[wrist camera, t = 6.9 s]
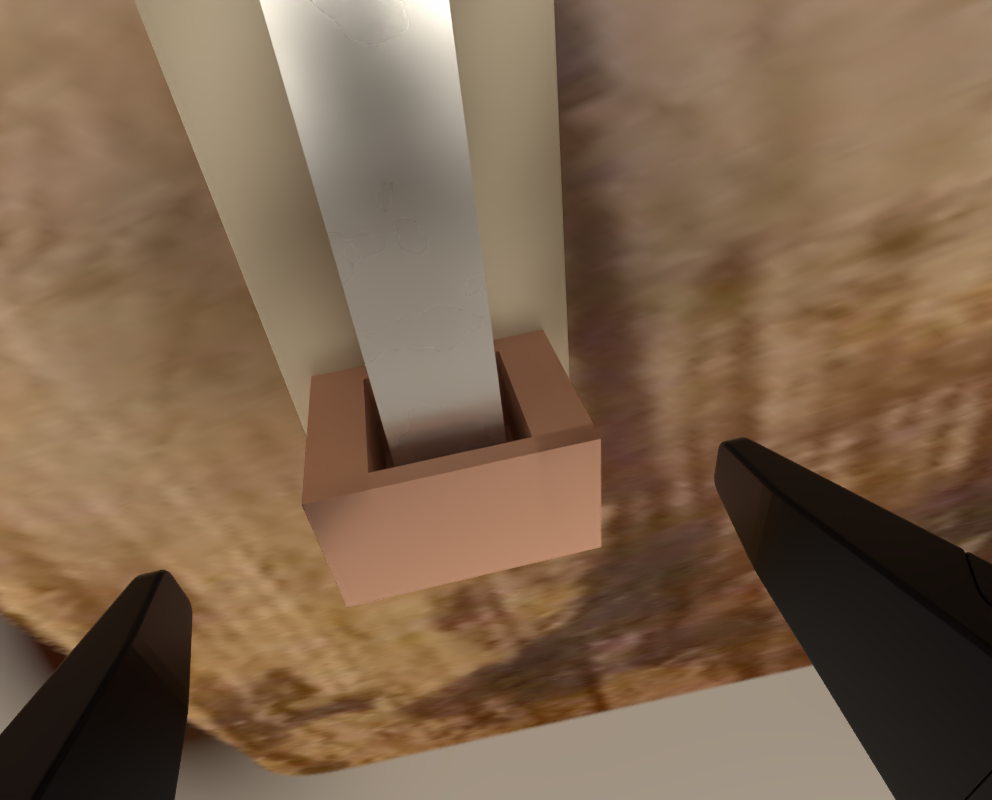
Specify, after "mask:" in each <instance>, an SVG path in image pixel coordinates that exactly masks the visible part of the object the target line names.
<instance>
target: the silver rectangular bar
mask: <svg viewBox="0 0 992 800" xmlns="http://www.w3.org/2000/svg"><path fill="white" fill-rule="evenodd" d="M260 3H261V6H262V10H263V13H264V17H265V20H266V24H267V27H268V31H269V34H270V38H271V41H272V44H273V48H274V51H275V55H276V58H277V62H278V65H279V69H280V72H281V76H282V79H283V82H284V86H285V89H286V93H287V96H288V100H289V103H290V107H291V110H292V114H293V117H294V120H295V124H296V127H297V131H298V134H299V138H300V141H301V145H302V148H303V152H304V155H305V158H306V162H307V165H308V169H309V172H310V176H311V179H312V183H313V186H314V190H315V193H316V196H317V200H318V203H319V207H320V210H321V214H322V217H323V221H324V224H325V228H326V231H327V234H328V238H329V241H330V245H331V248H332V252H333V255H334V259H335V262H336V266H337V269H338V272H339V276H340V279H341V283H342V286H343V290H344V293H345V297H346V300H347V304H348V307H349V310H350V314H351V317H352V321H353V324H354V328H355V331H356V335H357V338H358V342H359V345H360V348H361V352H362V355H363V359H364V362H365V366H366V369H367V373H368V376H369V380H370V383H371V386H372V390H373V393H374V397H375V400H376V404H377V407H378V411H379V414H380V418H381V421H382V424H383V428H384V431H385V435H386V438H387V442H388V445H389V449H390V452H391V456H392V459H393V462H394V466H395V467H397V466H402V465H407V464H411V463H416V462H420V461H425V460H430V459H434V458H439V457H443V456H448V455H452V454H457V453H462V452H466V451H471V450H475V449H480V448H485V447H489V446H494V445H498V444H503V443H506V435H505V427H504V420H503V412H502V404H501V397H500V389H499V381H498V373H497V366H496V358H495V350H494V343H493V335H492V327H491V320H490V312H489V304H488V297H487V289H486V281H485V273H484V266H483V258H482V250H481V243H480V235H479V227H478V220H477V212H476V204H475V197H474V189H473V181H472V173H471V166H470V158H469V150H468V143H467V135H466V127H465V120H464V112H463V104H462V97H461V89H460V81H459V73H458V66H457V58H456V50H455V43H454V35H453V27H452V20H451V12H450V4H449V0H260Z"/></svg>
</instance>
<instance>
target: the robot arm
mask: <svg viewBox="0 0 992 800" xmlns="http://www.w3.org/2000/svg"><path fill="white" fill-rule="evenodd" d="M714 482H715V486H716V489H717V492H718V494H719V496H720V498H721V500H722V502H723V504H724V507H725V509H726V511H727V513H728V515H729V517H730V519H731V521H732V524H733V526H734V528H735V530H736V532H737V534H738V536H739V538H740V541H741V543H742V545H743V547H744V549H745V551H746V553H747V555H748V557H749V559H750V561H751V563H752V565H753V567H754V569H755V571H756V573H757V574H758V576H759V578H760V579H761V581H762V583H763V584H764V586H765V588H766V589H767V591H768V593H769V594H770V596H771V597H772V599H773V601H774V602H775V604H776V606H777V607H778V609H779V610H780V612H781V614H782V615H783V617H784V619H785V620H786V622H787V623H788V625H789V627H790V628H791V630H792V632H793V633H794V635H795V637H796V638H797V640H798V641H799V643H800V645H801V646H802V648H803V650H804V651H805V653H806V654H807V656H808V658H809V659H810V661H811V663H812V664H813V666H814V667H815V669H816V671H817V672H818V674H819V676H820V677H821V679H822V680H823V682H824V684H825V685H826V687H827V688H828V690H829V692H830V694H831V695H832V697H833V698H834V700H835V701H836V703H837V705H838V706H839V708H840V710H841V711H842V713H843V715H844V716H845V718H846V719H847V721H848V723H849V724H850V726H851V728H852V729H853V731H854V733H855V734H856V736H857V737H858V739H859V741H860V742H861V744H862V746H863V747H864V749H865V750H866V752H867V754H868V755H869V757H870V759H871V760H872V762H873V764H874V765H875V767H876V768H877V770H878V772H879V773H880V775H881V776H882V778H883V780H884V781H885V783H886V784H887V786H888V788H889V790H890V791H891V792H892V794H893V796H894V798H895V799H896V800H992V564H991V563H989V562H987V561H985V560H984V559H982V558H980V557H978V556H976V555H974V554H972V553H970V552H966V553H965V552H964V550H963V549H962V548H960V547H958V546H956V545H954V544H952V543H950V542H948V541H946V540H944V539H942V538H940V537H939V536H937V535H935V534H933V533H931V532H929V531H927V530H925V529H923V528H921V527H919V526H917V525H915V524H913V523H911V522H909V521H908V520H906V519H904V518H902V517H900V516H898V515H896V514H894V513H892V512H890V511H888V510H886V509H884V508H882V507H880V506H878V505H876V504H875V503H873V502H871V501H869V500H867V499H865V498H863V497H861V496H859V495H857V494H855V493H853V492H851V491H849V490H847V489H845V488H844V487H842V486H840V485H838V484H836V483H834V482H832V481H830V480H828V479H826V478H824V477H822V476H820V475H818V474H816V473H814V472H812V471H811V470H809V469H807V468H805V467H803V466H801V465H799V464H797V463H795V462H793V461H791V460H789V459H787V458H785V457H783V456H781V455H780V454H778V453H776V452H774V451H772V450H770V449H768V448H766V447H764V446H762V445H760V444H758V443H756V442H754V441H752V440H750V439H748V438H744V437H741V438H737V439H732V440H728V441H724V442H722V443H721V444H720V446H719V449H718V455H717V461H716V468H715V474H714ZM191 638H192V607H191V603H190V601H189V599H188V597H187V596H186V594H185V593H184V591H183V590H182V589H181V587H180V586H179V584H178V583H177V582H176V580H175V579H174V577H173V576H172V575H171V573H170V572H168V571H166V570H158V571H154V572H150V573H145V574H141V575H139V576H137V577H136V578H134V579H133V580H132V581H131V583H130V584H129V585H128V586H127V587H126V588H125V590H124V591H123V592H122V593H121V594H120V595H119V597H118V598H117V599H116V600H115V601H114V602H113V604H112V605H111V606H110V607H109V608H108V609H107V611H106V612H105V613H104V614H103V615H102V616H101V618H100V619H99V620H98V621H97V622H96V623H95V625H94V626H93V627H92V628H91V629H90V630H89V632H88V633H87V634H86V635H85V636H84V637H83V639H82V640H81V641H80V642H79V643H78V644H77V646H76V647H75V648H74V649H73V650H72V651H71V653H70V654H69V655H68V656H67V657H66V658H65V660H64V661H63V662H62V663H61V664H60V665H59V667H58V668H57V669H56V670H55V671H54V673H53V674H52V675H51V676H50V677H49V678H48V680H47V681H46V682H45V683H44V684H43V685H42V687H41V688H40V689H39V690H38V691H37V692H36V693H35V695H34V696H33V697H32V698H31V699H30V701H29V702H28V703H27V704H26V705H25V706H24V708H23V709H22V710H21V711H20V712H19V713H18V714H17V716H16V717H15V718H14V719H13V720H12V722H11V723H10V724H9V725H8V726H7V727H6V729H5V730H4V731H3V732H2V733H1V734H0V800H175V793H176V787H177V781H178V775H179V768H180V761H181V755H182V749H183V742H184V736H185V730H186V723H187V715H188V705H189V688H190V663H191Z"/></svg>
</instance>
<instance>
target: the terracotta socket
mask: <svg viewBox="0 0 992 800" xmlns="http://www.w3.org/2000/svg"><path fill="white" fill-rule="evenodd" d="M493 343H494V350H495V358H496V366H497V373H498V381H499V389H500V397H501V404H502V412H503V420H504V427H505V435H506V443H503V444H498V445H494V446H489V447H485V448H480V449H475V450H471V451H466V452H462V453H457V454H452V455H448V456H443V457H439V458H434V459H430V460H425V461H420V462H416V463H411V464H407V465H402V466H397V467H395V466H394V462H393V459H392V456H391V452H390V449H389V445H388V442H387V438H386V435H385V431H384V428H383V424H382V421H381V418H380V414H379V411H378V407H377V404H376V400H375V397H374V393H373V390H372V386H371V383H370V380H369V376H368V373H367V369H366V366H361V367H356V368H351V369H346V370H341V371H336V372H332V373H327V374H322V375H317V376H312V377H311V385H310V398H309V412H308V425H307V439H306V452H305V466H304V480H303V493H302V507H303V509H304V511H305V513H306V516H307V518H308V520H309V522H310V525H311V527H312V529H313V532H314V534H315V536H316V538H317V541H318V543H319V545H320V547H321V550H322V552H323V554H324V556H325V559H326V561H327V563H328V565H329V568H330V570H331V572H332V575H333V577H334V579H335V581H336V584H337V586H338V588H339V590H340V593H341V595H342V597H343V599H344V602H345V604H346V606H347V607H351V606H355V605H359V604H363V603H368V602H372V601H376V600H380V599H384V598H389V597H393V596H397V595H401V594H405V593H410V592H414V591H418V590H422V589H426V588H431V587H435V586H439V585H443V584H447V583H452V582H456V581H460V580H464V579H468V578H473V577H477V576H481V575H485V574H489V573H494V572H498V571H502V570H506V569H510V568H515V567H519V566H523V565H527V564H531V563H536V562H540V561H544V560H548V559H552V558H557V557H561V556H565V555H569V554H573V553H578V552H582V551H586V550H590V549H594V548H599V547H601V438H600V436H599V434H598V432H597V431H596V429H595V427H594V425H593V423H592V421H591V419H590V417H589V415H588V414H587V412H586V410H585V408H584V406H583V404H582V402H581V400H580V398H579V397H578V395H577V393H576V391H575V389H574V387H573V385H572V383H571V381H570V380H569V378H568V376H567V374H566V372H565V370H564V368H563V366H562V364H561V363H560V361H559V359H558V357H557V355H556V353H555V351H554V349H553V347H552V346H551V344H550V342H549V340H548V338H547V336H546V334H545V332H544V330H540V331H535V332H530V333H525V334H520V335H515V336H510V337H505V338H500V339H495V340H493Z"/></svg>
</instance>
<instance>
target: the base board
mask: <svg viewBox="0 0 992 800" xmlns="http://www.w3.org/2000/svg"><path fill="white" fill-rule="evenodd" d="M134 1H135V4H136V6H137V9H138V11H139V14H140V16H141V19H142V21H143V24H144V26H145V29H146V32H147V34H148V37H149V39H150V42H151V44H152V47H153V49H154V52H155V54H156V57H157V59H158V62H159V64H160V67H161V69H162V72H163V75H164V77H165V80H166V82H167V85H168V87H169V90H170V92H171V95H172V97H173V100H174V102H175V105H176V107H177V110H178V113H179V115H180V118H181V120H182V123H183V125H184V128H185V130H186V133H187V135H188V138H189V140H190V143H191V145H192V148H193V150H194V153H195V156H196V158H197V161H198V163H199V166H200V168H201V171H202V173H203V176H204V178H205V181H206V183H207V186H208V188H209V191H210V193H211V196H212V199H213V201H214V204H215V206H216V209H217V211H218V214H219V216H220V219H221V221H222V224H223V226H224V229H225V231H226V234H227V236H228V239H229V242H230V244H231V247H232V249H233V252H234V254H235V257H236V259H237V262H238V264H239V267H240V269H241V272H242V274H243V277H244V280H245V282H246V285H247V287H248V290H249V292H250V295H251V297H252V300H253V302H254V305H255V307H256V310H257V312H258V315H259V317H260V320H261V323H262V325H263V328H264V330H265V333H266V335H267V338H268V340H269V343H270V345H271V348H272V350H273V353H274V355H275V358H276V360H277V363H278V366H279V368H280V371H281V373H282V376H283V378H284V381H285V383H286V386H287V388H288V391H289V393H290V396H291V398H292V401H293V403H294V406H295V409H296V411H297V414H298V416H299V419H300V421H301V424H302V426H303V429H304V431H305V434H306V436H307V425H308V412H309V398H310V385H311V377H312V376H317V375H322V374H327V373H332V372H336V371H341V370H346V369H351V368H356V367H361V366H365V362H364V359H363V355H362V352H361V348H360V345H359V342H358V338H357V335H356V331H355V328H354V324H353V321H352V317H351V314H350V310H349V307H348V304H347V300H346V297H345V293H344V290H343V286H342V283H341V279H340V276H339V272H338V269H337V266H336V262H335V259H334V255H333V252H332V248H331V245H330V241H329V238H328V234H327V231H326V228H325V224H324V221H323V217H322V214H321V210H320V207H319V203H318V200H317V196H316V193H315V190H314V186H313V183H312V179H311V176H310V172H309V169H308V165H307V162H306V158H305V155H304V152H303V148H302V145H301V141H300V138H299V134H298V131H297V127H296V124H295V120H294V117H293V114H292V110H291V107H290V103H289V100H288V96H287V93H286V89H285V86H284V82H283V79H282V76H281V72H280V69H279V65H278V62H277V58H276V55H275V51H274V48H273V44H272V41H271V38H270V34H269V31H268V27H267V24H266V20H265V17H264V13H263V10H262V6H261V3H260V0H134ZM449 4H450V12H451V20H452V27H453V35H454V43H455V50H456V58H457V66H458V73H459V81H460V89H461V97H462V104H463V112H464V120H465V127H466V135H467V143H468V150H469V158H470V166H471V173H472V181H473V189H474V197H475V204H476V212H477V220H478V227H479V235H480V243H481V250H482V258H483V266H484V273H485V281H486V289H487V297H488V304H489V312H490V320H491V327H492V335H493V340H495V339H500V338H505V337H510V336H515V335H520V334H525V333H530V332H535V331H540V330H544V332H545V334H546V336H547V338H548V340H549V342H550V344H551V346H552V347H553V349H554V351H555V353H556V355H557V357H558V359H559V361H560V363H561V364H562V366H563V368H564V370H565V372H566V374H567V376H568V378H569V380H570V377H569V353H568V329H567V305H566V281H565V257H564V233H563V209H562V185H561V161H560V137H559V113H558V89H557V65H556V41H555V17H554V0H449Z"/></svg>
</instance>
